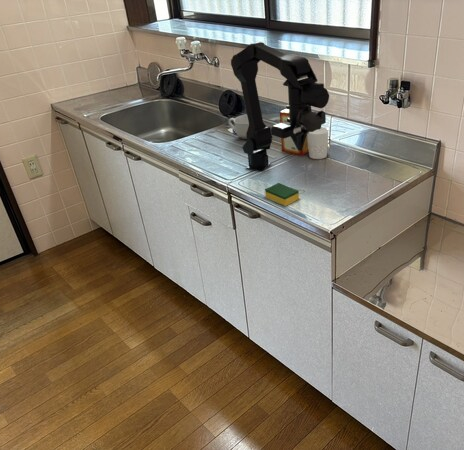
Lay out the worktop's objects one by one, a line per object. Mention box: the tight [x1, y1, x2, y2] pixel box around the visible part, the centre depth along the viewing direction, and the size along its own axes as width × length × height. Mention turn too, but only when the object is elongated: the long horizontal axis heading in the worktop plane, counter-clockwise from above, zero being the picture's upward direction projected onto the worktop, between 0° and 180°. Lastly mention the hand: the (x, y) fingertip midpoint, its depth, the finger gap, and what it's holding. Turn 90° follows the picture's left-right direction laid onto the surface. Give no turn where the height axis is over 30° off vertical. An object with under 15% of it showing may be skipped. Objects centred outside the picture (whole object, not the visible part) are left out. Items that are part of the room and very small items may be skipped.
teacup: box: [227, 114, 249, 140], centre depth 198 cm, size 14×11×8 cm
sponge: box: [264, 182, 300, 207], centre depth 148 cm, size 9×6×3 cm, turn 44°
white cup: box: [307, 126, 329, 160], centre depth 175 cm, size 8×8×10 cm
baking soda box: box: [279, 108, 309, 157], centre depth 179 cm, size 10×6×16 cm
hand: (299, 150), depth 150 cm, fingers closed
